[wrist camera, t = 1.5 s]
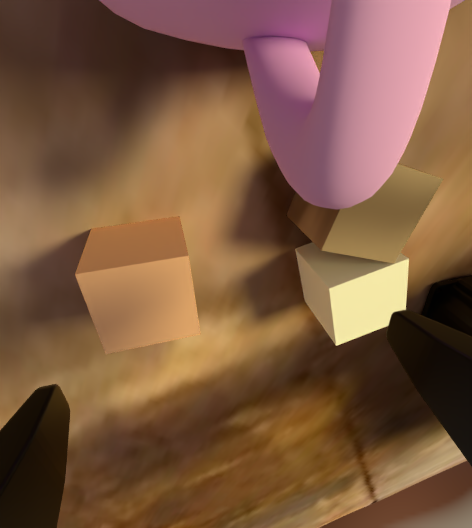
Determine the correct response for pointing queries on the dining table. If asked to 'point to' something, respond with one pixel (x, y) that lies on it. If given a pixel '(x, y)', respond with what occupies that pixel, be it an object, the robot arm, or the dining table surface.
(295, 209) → the walnut cube
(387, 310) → the cream cube
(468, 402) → the robot arm
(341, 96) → the teapot
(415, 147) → the dining table surface
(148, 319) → the terracotta cube
